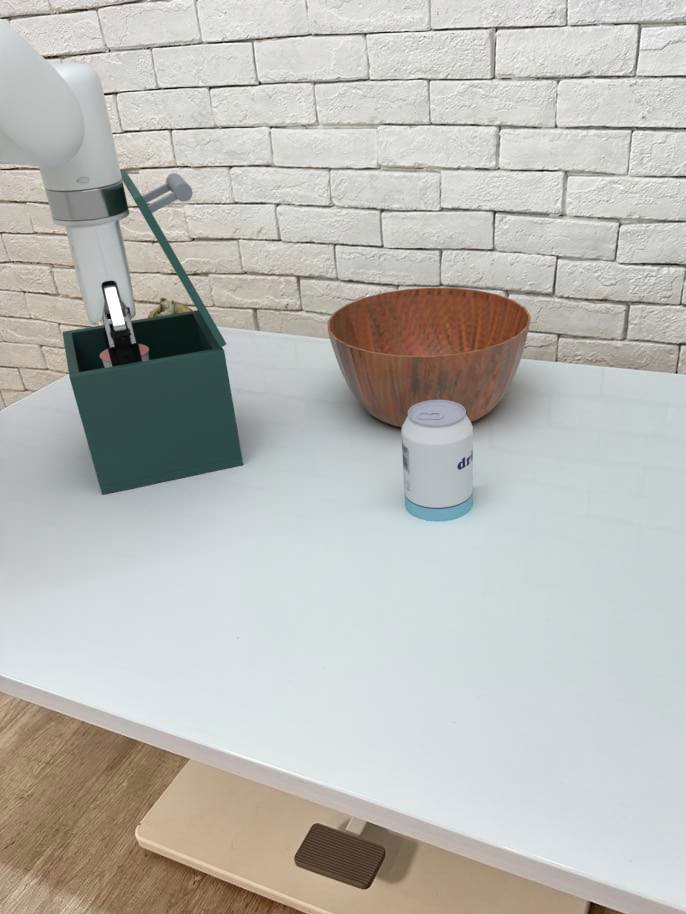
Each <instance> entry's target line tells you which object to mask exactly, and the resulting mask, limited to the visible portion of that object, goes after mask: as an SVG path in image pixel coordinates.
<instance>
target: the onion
mask: <svg viewBox="0 0 686 914" xmlns="http://www.w3.org/2000/svg"><path fill="white" fill-rule="evenodd" d="M189 311H194V310H193V309H192V308H190V307H189V306H187V305H186V304H185V303H184V304H183V303H181V302H179V301H176V300H174V299H171V300H168V299H167V298H166V297H160V298H159V305H158V306H156V307H155V308H154V309H153V310H151V311H150V312H149V314H148V316H147V318H152V317H158V316H164V315H171V314H177V313H183V312H189Z"/></svg>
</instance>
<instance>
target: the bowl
mask: <svg viewBox="0 0 686 914" xmlns="http://www.w3.org/2000/svg"><path fill="white" fill-rule="evenodd" d="M531 318H532V315H531V314H530V313H529V310H528V309H527V308H526V307H525V306H524V305H522V304H521V303H519V302H518V301H516V300H514V299H511V298H509V297H506V296H503V295H500V294H497V293H493V292H489V291H483V290H479V289H471V288H459V287H419V288H405V289H397V290H391V291H384V292H380V293H377V294H372V295H368V296H365V297H362V298H359V299H357V300H354V301H351V302H349V303H346V304H345V305H343V306H341V307H340V308H338V309H337V310H335V311H334V312H333V313H332V314H331V316H330V317H329V318H328V319H327V321H326V324H327V333H328V337H329V340H330V343H331V347H332V350H333V354H334V356H335V359H336V362H337V365H338V367H339V370H340V372H341V374H342V376H343V378H344V380H345V382H346V384H347V386H348V389H349V390H350V392H351V393H352V394H353V396H354V397H355V399H356V400H357V401H358V403H359V404H360V405H361V407H362V408H363V409H364V410H365V411H366V412H367V413H368V414H369V415H371V416H372V417H374V418H376V419H377V420H379V421H380V422H383V423H385V424H389V425H391V426H394V427H397V428H402V426H403V424H404V422H405V420H406V418H407V416H408V410H409V409H410V408H411V407H412V406H413V405H415V404H418V403H420V402H424V401H429V400H447V401H452V402H456V403H458V404H460V405H462V406H463V407H464V408H465V410H466V415H467V417H468V419H469V420H470V422H471V423H473V422H476V421H478V420H479V419H481V418H483V417H485V416H486V415H488V414H489V413H491V412H492V411H493V410H494V409H495V407H496V406H497V405H498V404H499V403H500V402H501V401H502V400H503V399H504V397H505V396H506V394H507V392H508V391H509V388H510V387H511V385H512V383H513V381H514V378H515V376H516V373H517V371H518V369H519V366H520V363H521V360H522V356H523V353H524V350H525V345H526V342H527V338H528V333H529V329H530V324H531Z"/></svg>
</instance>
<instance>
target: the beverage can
mask: <svg viewBox="0 0 686 914" xmlns="http://www.w3.org/2000/svg"><path fill="white" fill-rule="evenodd" d="M400 429H401V431H400V433H401V451H402V452H401V453H402V471H403V472H402V473H403V475H402V476H403V494H404V508H405V510H406V511H407V512H408V514H410V515H411V516H412V517H414V518H417V519H418V520H423V521H425V522H426V521H427V522H435V523H436V522H449V521H453V520H456V519H459V518H462V517H464V516H465V515H467V514H468V513H469V512H470V511H471V510H472V508H473V505H474V500H473V499H474V427H473V423H472V422H470V420H469V419H468V417H467V415H466V410H465V408H464V407H463V406H462V405H460V404H458V403H456V402H452V401H447V400H429V401H424V402H420V403H418V404H415V405H413V406H412V407H411V408H410V409H409V410H408V416H407V418H406V420H405V422H404V424H403V426H402V427H401V428H400Z"/></svg>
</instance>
